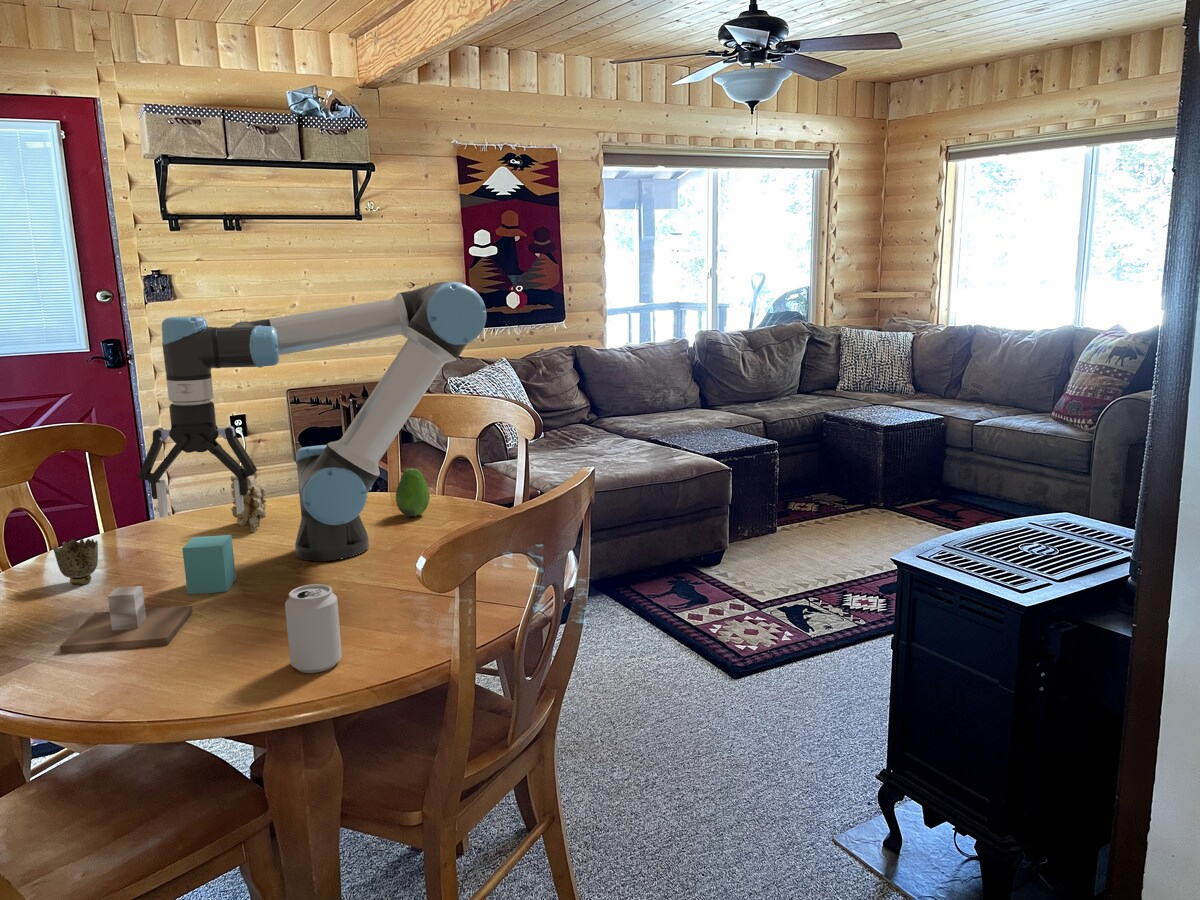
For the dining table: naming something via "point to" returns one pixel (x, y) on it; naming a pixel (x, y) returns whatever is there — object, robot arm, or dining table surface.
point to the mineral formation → (251, 503)
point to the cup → (77, 560)
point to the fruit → (412, 493)
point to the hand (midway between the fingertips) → (202, 513)
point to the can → (313, 628)
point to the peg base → (127, 638)
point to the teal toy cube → (209, 564)
